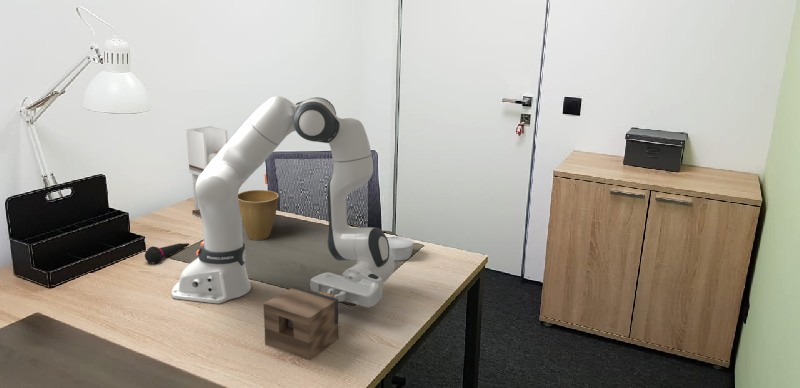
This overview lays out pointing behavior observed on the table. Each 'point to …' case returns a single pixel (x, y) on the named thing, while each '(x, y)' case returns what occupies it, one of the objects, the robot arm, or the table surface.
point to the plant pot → (258, 212)
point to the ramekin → (400, 248)
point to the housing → (301, 322)
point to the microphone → (162, 252)
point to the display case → (203, 152)
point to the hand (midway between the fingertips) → (327, 300)
